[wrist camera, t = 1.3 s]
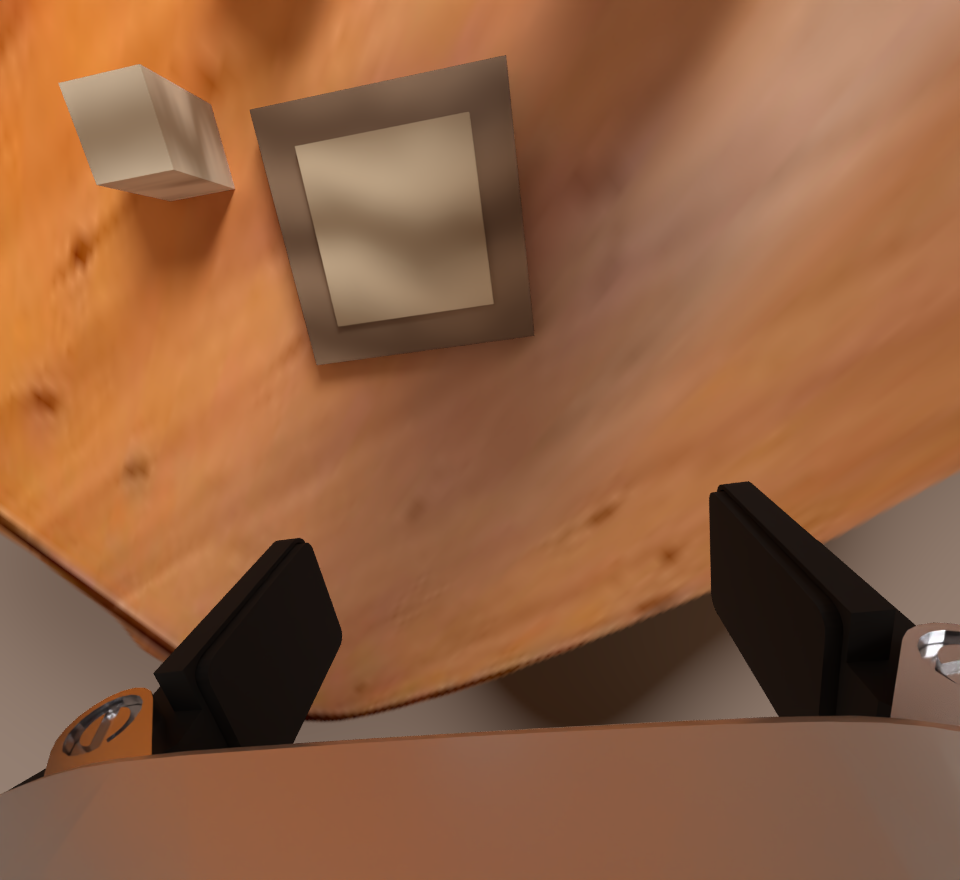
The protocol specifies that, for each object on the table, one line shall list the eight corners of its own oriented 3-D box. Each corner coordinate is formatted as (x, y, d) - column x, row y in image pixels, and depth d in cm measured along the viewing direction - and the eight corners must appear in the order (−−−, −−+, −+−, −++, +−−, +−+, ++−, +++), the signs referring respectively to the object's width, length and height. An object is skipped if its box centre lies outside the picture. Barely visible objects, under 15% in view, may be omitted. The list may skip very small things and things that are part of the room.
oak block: (143, 119, 30) (58, 83, 25) (211, 104, 30) (139, 63, 24) (170, 201, 32) (96, 184, 26) (235, 189, 31) (173, 169, 26)
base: (266, 120, 30) (244, 106, 27) (506, 70, 28) (505, 51, 25) (327, 360, 35) (313, 366, 32) (533, 332, 33) (534, 336, 31)
